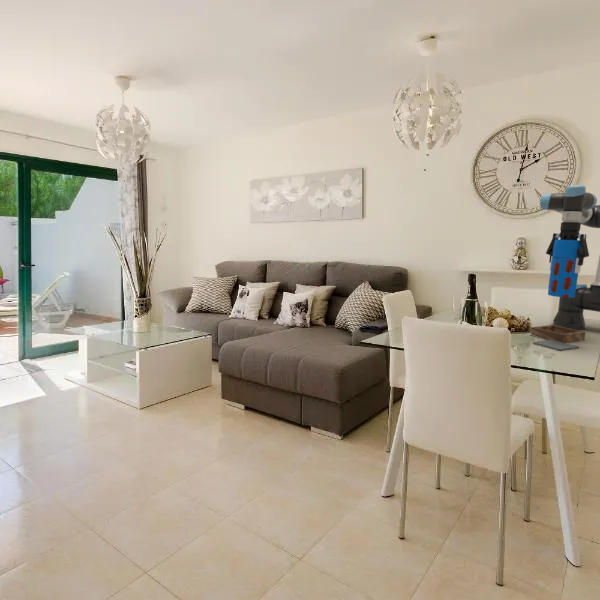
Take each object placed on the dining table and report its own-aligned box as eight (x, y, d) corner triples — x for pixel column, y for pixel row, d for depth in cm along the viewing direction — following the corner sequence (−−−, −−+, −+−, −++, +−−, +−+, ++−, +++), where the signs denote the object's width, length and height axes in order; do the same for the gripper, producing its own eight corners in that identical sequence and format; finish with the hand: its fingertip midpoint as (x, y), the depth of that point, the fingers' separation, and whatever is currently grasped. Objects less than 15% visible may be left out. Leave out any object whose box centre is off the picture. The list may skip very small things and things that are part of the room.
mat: (551, 341, 211) (551, 339, 211) (578, 348, 200) (579, 346, 200) (532, 343, 205) (533, 342, 205) (560, 351, 194) (560, 349, 194)
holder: (551, 332, 229) (552, 324, 229) (584, 340, 215) (585, 331, 214) (530, 335, 222) (531, 327, 221) (562, 343, 207) (563, 334, 207)
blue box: (578, 298, 198) (586, 240, 194) (552, 296, 200) (559, 239, 196) (569, 295, 208) (577, 240, 204) (544, 293, 210) (551, 239, 207)
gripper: (541, 221, 208) (535, 269, 211) (592, 221, 187) (585, 274, 190) (551, 222, 211) (545, 269, 214) (603, 222, 190) (596, 274, 194)
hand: (564, 271), depth 202 cm, fingers closed on blue box, 11 cm apart
